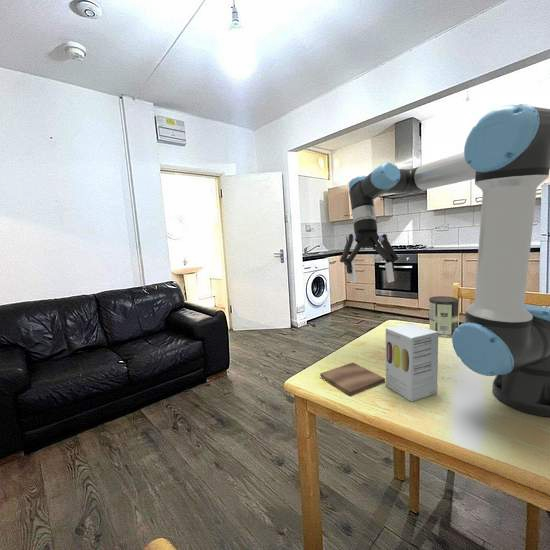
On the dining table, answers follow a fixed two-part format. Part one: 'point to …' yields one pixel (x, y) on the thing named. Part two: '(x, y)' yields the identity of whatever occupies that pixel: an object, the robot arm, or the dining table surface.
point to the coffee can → (443, 315)
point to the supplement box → (412, 360)
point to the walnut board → (352, 378)
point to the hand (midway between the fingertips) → (372, 282)
